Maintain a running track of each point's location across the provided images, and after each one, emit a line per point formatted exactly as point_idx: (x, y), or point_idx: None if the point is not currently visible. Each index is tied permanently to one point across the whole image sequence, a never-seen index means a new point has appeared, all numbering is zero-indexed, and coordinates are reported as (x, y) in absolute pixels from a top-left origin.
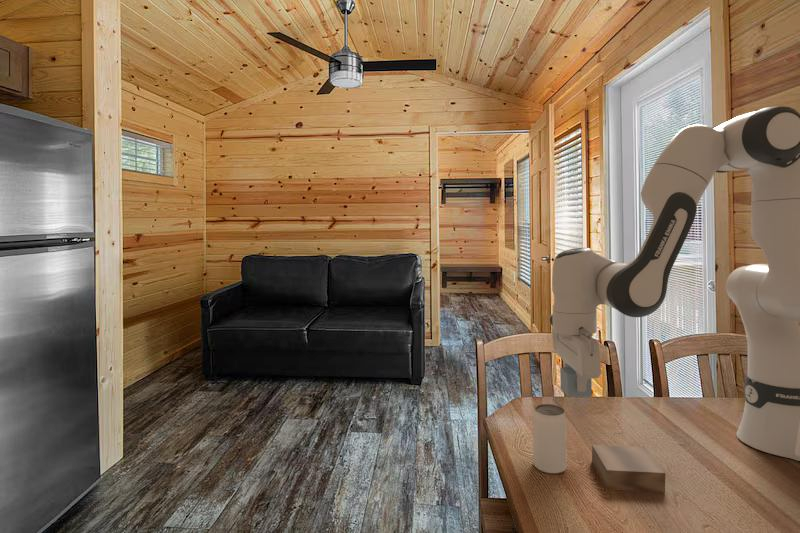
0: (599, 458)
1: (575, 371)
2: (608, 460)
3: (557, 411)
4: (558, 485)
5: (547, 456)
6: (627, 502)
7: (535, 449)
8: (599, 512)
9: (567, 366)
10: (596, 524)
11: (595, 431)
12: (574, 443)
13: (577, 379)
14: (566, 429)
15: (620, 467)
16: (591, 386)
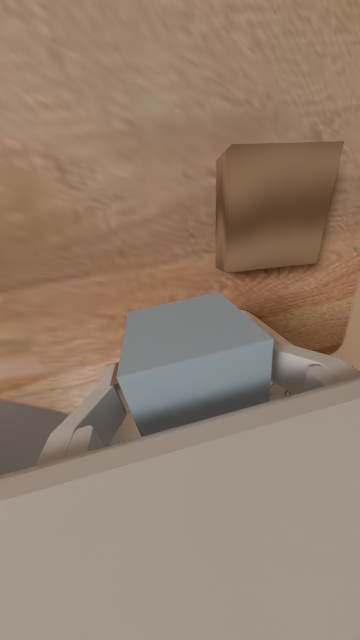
0: (273, 267)
1: (223, 410)
2: (287, 252)
3: None
4: (279, 320)
5: None
6: (324, 236)
7: None
8: (336, 278)
9: (101, 440)
10: (354, 286)
11: (73, 234)
12: (149, 288)
13: (296, 389)
14: (282, 340)
15: (311, 236)
16: (236, 307)
